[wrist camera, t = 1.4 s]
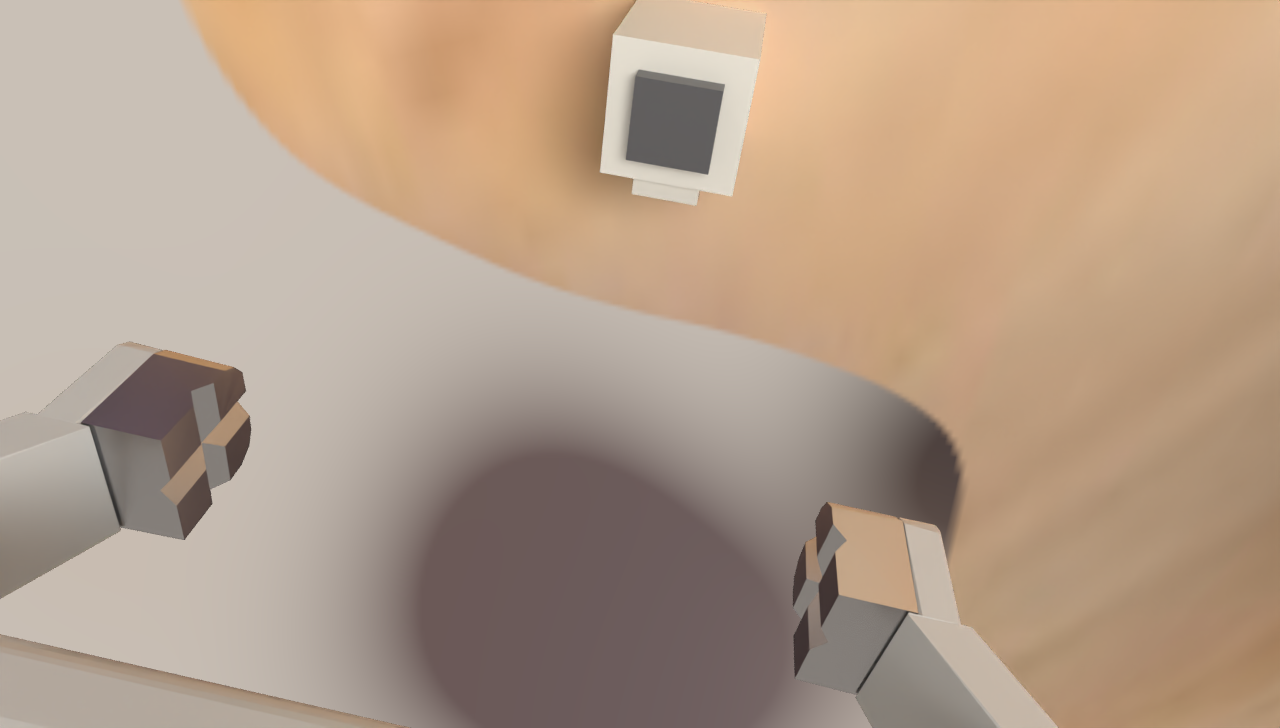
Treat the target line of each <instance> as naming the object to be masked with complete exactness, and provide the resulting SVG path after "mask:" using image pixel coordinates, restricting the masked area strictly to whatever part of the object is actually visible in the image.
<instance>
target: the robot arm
mask: <svg viewBox="0 0 1280 728" xmlns="http://www.w3.org/2000/svg"><path fill="white" fill-rule="evenodd" d="M245 391H246V389H245V384H244V379H243V373H242V372H241V371H239V370H238V369H236V368H234V367H231V366H227V365H223V364H219V363H215V362H211V361H207V360H203V359H199V358H195V357H191V356H187V355H183V354H180V353H176V352H172V351H168V350H160V349H156V348H152V347H148V346H145V345H141V344H137V343H133V342H126V343H123V344H119V345H117V346H115V347H114V348H113V349H112V350H111V351H110V352H108V353H107V354H106V355H105V356H104V357H103V358H101V359H100V360H99V361H98V362H97V363H96V364H95V365H93V366H92V367H91V368H90V369H89V370H88V371H87V372H85V373H84V374H83V375H82V376H81V377H80V378H79V379H77V380H76V381H75V382H74V383H73V384H72V385H70V386H69V387H68V388H67V389H66V390H65V391H64V392H62V393H61V394H60V395H59V396H58V397H57V398H56V399H54V400H53V401H52V402H51V403H50V404H49V405H47V406H46V407H45V408H44V409H43V410H42V411H41V412H39V413H38V414H33V413H28V412H24V413H21V414H18V415H15V416H12V417H9V418H6V419H3V420H0V599H1V598H3V597H4V596H6V595H8V594H10V593H11V592H13V591H15V590H17V589H19V588H20V587H22V586H24V585H26V584H27V583H29V582H31V581H33V580H35V579H36V578H38V577H40V576H42V575H43V574H45V573H47V572H49V571H50V570H52V569H54V568H56V567H57V566H59V565H61V564H63V563H65V562H66V561H68V560H70V559H72V558H73V557H75V556H77V555H79V554H80V553H82V552H84V551H86V550H88V549H89V548H91V547H93V546H95V545H96V544H98V543H100V542H102V541H104V540H105V539H107V538H109V537H111V536H112V535H114V534H116V533H118V532H119V531H120V530H121V529H120V527H121V528H127V529H132V530H137V531H142V532H147V533H152V534H157V535H162V536H167V537H172V538H177V539H182V540H185V538H186V537H187V536H188V535H189V533H190V532H191V531H192V529H193V528H194V527H195V526H196V524H197V523H198V522H199V520H200V519H201V518H202V516H203V515H204V514H205V513H206V511H207V510H208V509H209V507H210V506H211V505H212V498H211V491H210V489H212V488H214V487H216V486H219V485H221V484H223V483H225V482H227V481H229V480H231V479H232V477H233V476H234V474H235V473H236V472H237V470H238V469H239V468H240V466H241V465H242V462H243V460H244V457H245V455H246V452H247V450H248V447H249V443H250V435H251V424H250V416H249V415H248V413H247V412H246V411H245V410H244V409H243V408H242V406H241V405H240V404H239V403H238V402H237V401H238V400H239V399H240V398H241V396H242V395H243V394H244V393H245ZM815 523H816V537H815V538H813V539H811V540H809V541H807V542H806V543H805V545H804V547H803V550H802V552H801V554H800V557H799V560H798V564H797V568H796V572H795V576H794V586H793V609H794V610H795V612H796V613H797V615H798V616H799V617H800V619H801V621H800V624H799V626H798V628H797V630H796V632H795V634H794V667H795V668H794V670H795V679H797V680H801V681H805V682H809V683H812V684H816V685H821V686H824V687H828V688H832V689H836V690H840V691H844V692H848V693H852V694H856V695H857V696H856V699H857V701H858V703H859V705H860V706H861V708H862V710H863V712H864V713H865V715H866V717H867V719H868V720H869V722H870V724H871V726H872V728H1058V726H1057V725H1056V724H1055V723H1054V722H1053V721H1052V719H1051V718H1050V717H1049V716H1048V715H1047V714H1046V712H1045V711H1044V710H1043V709H1042V708H1041V707H1040V706H1039V704H1038V703H1037V702H1036V701H1035V700H1034V699H1033V697H1032V696H1031V695H1030V694H1029V693H1028V692H1027V690H1026V689H1025V688H1024V687H1023V686H1022V685H1021V683H1020V682H1019V681H1018V680H1017V679H1016V678H1015V677H1014V675H1013V674H1012V673H1011V672H1010V671H1009V670H1008V668H1007V667H1006V666H1005V665H1004V664H1003V663H1002V661H1001V660H1000V659H999V658H998V657H997V656H996V654H995V653H994V652H993V651H992V650H991V649H990V647H989V646H988V645H987V644H986V643H985V642H984V641H983V639H982V638H981V637H980V636H979V635H978V634H977V632H976V631H975V630H974V629H973V628H972V627H969V626H965V625H961V622H960V617H959V613H958V608H957V604H956V599H955V595H954V590H953V586H952V581H951V577H950V572H949V568H948V564H947V559H946V555H945V550H944V546H943V541H942V537H941V532H940V531H939V529H938V528H937V526H936V525H933V524H928V523H924V522H918V521H914V520H909V519H905V518H900V517H899V518H896V517H894V516H889V515H884V514H880V513H876V512H871V511H866V510H862V509H857V508H853V507H848V506H844V505H839V504H834V503H830V502H826V504H825V505H824V506H823V507H822V508H821V510H820V512H819V515H818V516H817V518H816V521H815ZM0 728H409V727H405V726H400V725H396V724H392V723H387V722H383V721H378V720H374V719H370V718H365V717H361V716H357V715H352V714H348V713H343V712H339V711H335V710H330V709H326V708H321V707H317V706H313V705H308V704H304V703H299V702H295V701H291V700H286V699H282V698H278V697H273V696H268V695H265V694H260V693H256V692H251V691H247V690H243V689H238V688H234V687H229V686H225V685H221V684H216V683H212V682H207V681H203V680H198V679H194V678H189V677H185V676H181V675H177V674H172V673H168V672H163V671H159V670H154V669H150V668H146V667H142V666H137V665H133V664H128V663H124V662H120V661H115V660H111V659H106V658H102V657H97V656H93V655H89V654H84V653H80V652H76V651H71V650H66V649H62V648H58V647H53V646H49V645H45V644H41V643H36V642H31V641H27V640H23V639H19V638H14V637H9V636H5V635H1V634H0Z"/></svg>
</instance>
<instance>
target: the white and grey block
mask: <svg viewBox="0 0 1280 728" xmlns="http://www.w3.org/2000/svg"><path fill="white" fill-rule="evenodd" d="M766 16H767V13H761V12H755V11H750V10H744V9H738V8H732V7H726V6H720V5H714V4H708V3H702V2H696V1H690V0H637V1H636V2H635V3H634V5H633V6H632V8H631V9H630V11H629V12H628V14H627V15H626V17H625V18H624V19H623V21H622V22H621V24H620V25H619V27H618V28H617V30H616V31H615V33H614V34H613V42H612V52H611V62H610V73H609V83H608V94H607V104H606V115H605V125H604V135H603V146H602V156H601V167H600V173H606V174H611V175H617V176H622V177H628V178H633V187H632V194H634V195H640V196H645V197H651V198H656V199H662V200H667V201H673V202H678V203H684V204H689V205H695V206H696V205H697V201H698V197H699V193H700V191H705V192H711V193H716V194H722V195H727V196H732V195H733V190H734V185H735V180H736V175H737V170H738V166H739V161H740V156H741V151H742V146H743V141H744V136H745V131H746V126H747V122H748V117H749V112H750V107H751V102H752V97H753V92H754V87H755V82H756V78H757V73H758V68H759V63H760V57H761V50H762V43H763V37H764V30H765V23H766Z"/></svg>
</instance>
